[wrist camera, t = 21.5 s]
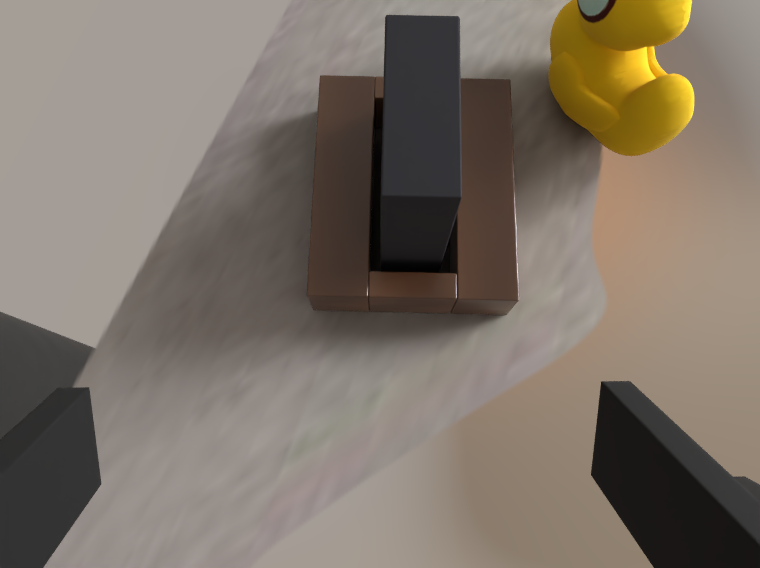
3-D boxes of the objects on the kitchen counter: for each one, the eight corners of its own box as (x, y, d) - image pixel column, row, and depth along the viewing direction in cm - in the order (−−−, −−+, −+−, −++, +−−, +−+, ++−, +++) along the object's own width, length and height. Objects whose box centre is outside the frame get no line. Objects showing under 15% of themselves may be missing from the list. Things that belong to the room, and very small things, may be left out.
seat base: (313, 310, 31) (306, 295, 28) (325, 106, 35) (320, 74, 32) (506, 315, 31) (519, 300, 28) (499, 110, 34) (510, 79, 32)
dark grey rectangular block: (380, 275, 32) (380, 196, 22) (384, 139, 34) (385, 13, 24) (437, 276, 32) (462, 198, 22) (437, 140, 34) (459, 15, 24)
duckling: (502, 31, 36) (546, -125, 26) (582, 3, 37) (655, -159, 27) (589, 193, 33) (675, 85, 23) (676, 160, 34) (794, 41, 24)
